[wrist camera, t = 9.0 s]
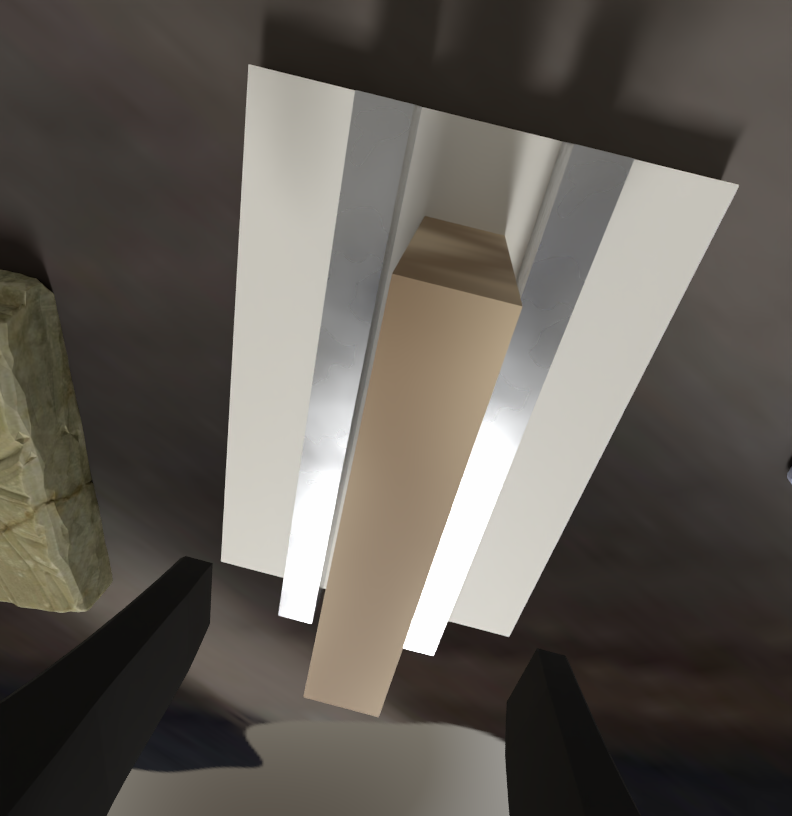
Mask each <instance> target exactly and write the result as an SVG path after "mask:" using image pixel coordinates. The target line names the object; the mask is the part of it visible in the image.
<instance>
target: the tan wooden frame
mask: <svg viewBox="0 0 792 816" xmlns="http://www.w3.org/2000/svg"><path fill="white" fill-rule="evenodd" d="M522 307H523V306H522V302H521V298H520V294H519V290H518V286H517V282H516V278H515V274H514V270H513V266H512V262H511V258H510V254H509V251H508V247H507V243H506V239H505V236H504V235H500V234H496V233H492V232H488V231H484V230H480V229H476V228H472V227H468V226H464V225H460V224H456V223H452V222H448V221H444V220H440V219H436V218H432V217H428V216H424V218H423V220H422V222H421V223H420V225H419V227H418V229H417V231H416V232H415V234H414V236H413V238H412V239H411V241H410V243H409V245H408V246H407V248H406V250H405V252H404V253H403V255H402V257H401V259H400V260H399V262H398V264H397V266H396V267H395V269H394V271H393V273H392V276H391V281H390V285H389V290H388V295H387V300H386V304H385V309H384V314H383V319H382V324H381V328H380V333H379V338H378V343H377V348H376V352H375V357H374V362H373V367H372V371H371V376H370V381H369V386H368V391H367V395H366V400H365V405H364V410H363V414H362V419H361V424H360V429H359V434H358V438H357V443H356V448H355V453H354V458H353V462H352V467H351V472H350V477H349V481H348V486H347V491H346V496H345V501H344V505H343V510H342V515H341V520H340V524H339V529H338V534H337V539H336V544H335V548H334V553H333V558H332V563H331V568H330V572H329V577H328V582H327V587H326V591H325V596H324V601H323V606H322V611H321V615H320V620H319V625H318V630H317V634H316V639H315V644H314V649H313V654H312V658H311V663H310V668H309V673H308V677H307V682H306V687H305V692H304V697H305V698H308V699H312V700H316V701H320V702H323V703H327V704H331V705H335V706H338V707H342V708H346V709H350V710H354V711H357V712H361V713H365V714H369V715H372V716H376V717H379V715H380V712H381V709H382V706H383V703H384V701H385V698H386V695H387V692H388V689H389V686H390V683H391V681H392V678H393V675H394V672H395V669H396V666H397V663H398V661H399V658H400V655H401V652H402V649H403V646H404V644H405V641H406V638H407V635H408V632H409V629H410V626H411V624H412V621H413V618H414V615H415V612H416V609H417V606H418V604H419V601H420V598H421V595H422V592H423V589H424V586H425V584H426V581H427V578H428V575H429V572H430V569H431V566H432V564H433V561H434V558H435V555H436V552H437V549H438V547H439V544H440V541H441V538H442V535H443V532H444V529H445V527H446V524H447V521H448V518H449V515H450V512H451V509H452V507H453V504H454V501H455V498H456V495H457V492H458V489H459V487H460V484H461V481H462V478H463V475H464V472H465V469H466V467H467V464H468V461H469V458H470V455H471V452H472V450H473V447H474V444H475V441H476V438H477V435H478V432H479V430H480V427H481V424H482V421H483V418H484V415H485V412H486V410H487V407H488V404H489V401H490V398H491V395H492V392H493V390H494V387H495V384H496V381H497V378H498V375H499V372H500V370H501V367H502V364H503V361H504V358H505V355H506V353H507V350H508V347H509V344H510V341H511V338H512V335H513V333H514V330H515V327H516V324H517V321H518V318H519V315H520V313H521V310H522Z"/></svg>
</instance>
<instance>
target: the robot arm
mask: <svg viewBox="0 0 792 816" xmlns="http://www.w3.org/2000/svg"><path fill="white" fill-rule="evenodd" d="M787 479H788V480H789V481H790V483H791V484H792V467H791V468H790V470H789V472H788V474H787ZM211 585H212V563H210V562H206V561H202V560H198V559H194V558H191V557H187V556H185V557H183V558H180V559H179V560H178V561H177V562H176V563H175V564H174V565H173V566H172V567H171V568H170V569H169V570H167V571H166V572H165V573H164V574H163V575H162V576H161V577H160V578H159V579H157V580H156V581H155V582H154V583H153V584H152V585H151V586H150V587H148V588H147V589H146V590H145V591H144V592H143V593H142V594H140V595H139V596H138V597H137V598H136V599H135V600H133V601H132V602H131V603H130V604H129V605H128V606H126V607H125V608H124V609H123V610H122V611H120V612H119V613H118V614H117V615H115V616H114V617H113V618H112V619H111V620H109V621H108V622H107V623H106V624H104V625H103V626H102V627H101V628H99V629H98V630H97V631H96V632H95V633H93V634H92V635H91V636H90V637H88V638H87V639H86V640H84V641H83V642H82V643H81V644H79V645H78V646H77V647H75V648H74V649H73V650H71V651H70V652H69V653H67V654H66V655H65V656H63V657H62V658H61V659H59V660H58V661H57V662H55V663H54V664H53V665H51V666H50V667H49V668H47V669H46V670H45V671H43V672H42V673H40V674H39V675H38V676H36V677H35V678H33V679H32V680H31V681H29V682H28V683H26V684H25V685H24V686H22V687H21V688H19V689H18V690H16V691H15V692H13V693H12V694H11V695H9V696H8V697H6V698H5V699H3V700H2V701H0V816H107V814H108V812H109V810H110V808H111V806H112V804H113V802H114V800H115V798H116V796H117V794H118V793H119V791H120V789H121V787H122V785H123V783H124V781H125V780H126V778H127V776H128V775H129V773H130V771H131V769H132V768H133V766H134V764H135V763H136V761H137V759H138V757H139V756H140V754H141V752H142V750H143V749H144V747H145V745H146V744H147V742H148V740H149V738H150V737H151V735H152V733H153V732H154V730H155V728H156V726H157V725H158V723H159V721H160V720H161V718H162V716H163V714H164V713H165V711H166V709H167V708H168V706H169V704H170V702H171V701H172V699H173V697H174V695H175V694H176V692H177V690H178V688H179V687H180V685H181V683H182V681H183V680H184V678H185V676H186V674H187V673H188V671H189V669H190V667H191V664H192V662H193V660H194V658H195V656H196V654H197V651H198V649H199V647H200V645H201V642H202V640H203V638H204V636H205V633H206V631H207V629H208V627H209V624H210V608H211ZM505 759H506V774H507V788H508V802H509V815H510V816H641V814H640V813H639V811H638V809H637V807H636V805H635V803H634V801H633V799H632V797H631V795H630V793H629V791H628V789H627V788H626V786H625V783H624V781H623V779H622V777H621V775H620V773H619V771H618V769H617V767H616V765H615V763H614V761H613V759H612V757H611V755H610V753H609V751H608V749H607V747H606V745H605V742H604V740H603V738H602V736H601V734H600V732H599V730H598V727H597V725H596V723H595V721H594V719H593V716H592V714H591V712H590V710H589V708H588V705H587V703H586V701H585V699H584V696H583V694H582V692H581V689H580V687H579V685H578V683H577V680H576V678H575V676H574V673H573V671H572V669H571V666H570V664H569V662H568V660H567V658H566V656H564V655H561V654H557V653H553V652H549V651H545V650H541V649H538V648H537V650H536V651H535V653H534V655H533V657H532V658H531V660H530V662H529V664H528V666H527V667H526V669H525V671H524V673H523V674H522V676H521V678H520V680H519V681H518V683H517V685H516V687H515V689H514V690H513V692H512V694H511V696H510V697H509V699H508V701H507V711H506V741H505Z"/></svg>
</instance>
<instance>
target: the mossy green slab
mask: <svg viewBox="0 0 792 816" xmlns="http://www.w3.org/2000/svg"><path fill="white" fill-rule="evenodd" d="M91 479H92V478H91V474H90V469H89V463H88V457H87V452H86V446H85V440H84V433H83V428H82V423H81V418H80V414H79V410H78V405H77V402H76V397H75V392H74V388H73V383H72V379H71V374H70V370H69V365H68V358H67V353H66V349H65V344H64V339H63V335H62V330H61V325H60V321H59V317H58V312H57V307H56V302H55V298H54V294H53V293H52V292H51V291H50V290H49V289H48V288H46V287H45V286H44V285H43V284H42V283H41V282H40V281H39V280H38V279H36V278H30V277H27V276H25V275H23V274H20V273H14V272H10V271H6V270H0V601H4V602H11V603H14V604H15V605H17V606H19V607H25V608H34V609H41V610H46V611H55V612H60V613H64V612H69V611H74V612H83V611H87V610H89V609H90V608H91V607H92V606H93V605H94V603H95V602H96V601H97V600H98V599H99V598H100V597H101V595H102V594H103V593H104V592H105V591H106V589H107V588H108V587H109V586H110V584H111V583H112V581H113V580H112V573H111V567H110V563H109V557H108V552H107V548H106V545H105V540H104V535H103V529H102V522H101V517H100V512H99V508H98V503H97V499H96V495H95V490H94V485H93V483H92V482H91Z"/></svg>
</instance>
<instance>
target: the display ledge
mask: <svg viewBox="0 0 792 816" xmlns="http://www.w3.org/2000/svg"><path fill="white" fill-rule="evenodd" d="M738 187H739V185H737V184H733V183H729V182H725V181H721V180H717V179H713V178H709V177H705V176H700V175H696V174H692V173H688V172H684V171H680V170H676V169H672V168H668V167H664V166H660V165H656V164H652V163H648V162H644V161H640V160H635V159H634V158H630V157H626V156H622V155H618V154H614V153H609V152H605V151H601V150H597V149H593V148H589V147H585V146H581V145H577V144H573V143H567V142H562V141H558V140H554V139H550V138H546V137H542V136H538V135H534V134H530V133H526V132H522V131H518V130H514V129H510V128H506V127H501V126H497V125H493V124H489V123H485V122H481V121H477V120H473V119H469V118H465V117H461V116H457V115H453V114H449V113H445V112H441V111H436V110H432V109H428V108H424V107H421V106H418V105H415V104H410V103H406V102H402V101H398V100H394V99H390V98H386V97H382V96H378V95H374V94H370V93H366V92H362V91H358V90H351V89H347V88H343V87H339V86H335V85H331V84H327V83H323V82H319V81H315V80H311V79H307V78H302V77H298V76H294V75H290V74H286V73H282V72H278V71H274V70H270V69H266V68H262V67H258V66H254V65H250V64H249V66H248V84H247V102H246V120H245V138H244V156H243V174H242V192H241V211H240V229H239V247H238V265H237V283H236V301H235V319H234V337H233V355H232V373H231V391H230V409H229V427H228V445H227V464H226V482H225V500H224V518H223V536H222V554H221V562H225V563H229V564H233V565H237V566H241V567H244V568H248V569H252V570H256V571H260V572H263V573H267V574H271V575H275V576H279V577H283V578H284V580H283V587H282V594H281V601H280V608H279V614H278V615H279V616H283V617H287V618H291V619H295V620H298V621H302V622H306V623H310V624H312V621H313V618H314V615H315V612H316V609H317V606H318V603H319V600H320V597H321V594H322V591H323V588H325V589H326V587H327V582H328V577H329V572H330V568H331V563H332V558H333V553H334V548H335V544H336V539H337V534H338V529H339V524H340V520H341V515H342V510H343V505H344V501H345V496H346V491H347V486H348V481H349V477H350V472H351V467H352V462H353V458H354V453H355V448H356V443H357V438H358V434H359V429H360V424H361V419H362V414H363V410H364V405H365V400H366V395H367V391H368V386H369V381H370V376H371V371H372V367H373V362H374V357H375V352H376V348H377V343H378V338H379V333H380V328H381V324H382V319H383V314H384V309H385V304H386V300H387V295H388V290H389V285H390V281H391V276H392V273H393V271H394V269H395V267H396V266H397V264H398V262H399V260H400V259H401V257H402V255H403V253H404V252H405V250H406V248H407V246H408V245H409V243H410V241H411V239H412V238H413V236H414V234H415V232H416V231H417V229H418V227H419V225H420V223H421V222H422V220H423V218H424V216H428V217H432V218H436V219H440V220H444V221H448V222H452V223H456V224H460V225H464V226H468V227H472V228H476V229H480V230H484V231H488V232H492V233H496V234H500V235H504V236H505V239H506V243H507V247H508V251H509V254H510V258H511V262H512V266H513V270H514V274H515V278H516V282H517V286H518V290H519V294H520V298H521V302H522V306H523V307H522V310H521V313H520V315H519V318H518V321H517V324H516V327H515V330H514V333H513V335H512V338H511V341H510V344H509V347H508V350H507V353H506V355H505V358H504V361H503V364H502V367H501V370H500V372H499V375H498V378H497V381H496V384H495V387H494V390H493V392H492V395H491V398H490V401H489V404H488V407H487V410H486V412H485V415H484V418H483V421H482V424H481V427H480V430H479V432H478V435H477V438H476V441H475V444H474V447H473V450H472V452H471V455H470V458H469V461H468V464H467V467H466V469H465V472H464V475H463V478H462V481H461V484H460V487H459V489H458V492H457V495H456V498H455V501H454V504H453V507H452V509H451V512H450V515H449V518H448V521H447V524H446V527H445V529H444V532H443V535H442V538H441V541H440V544H439V547H438V549H437V552H436V555H435V558H434V561H433V564H432V566H431V569H430V572H429V575H428V578H427V581H426V584H425V586H424V589H423V592H422V595H421V598H420V601H419V604H418V606H417V609H416V612H415V615H414V618H413V621H412V624H411V626H410V629H409V632H408V635H407V638H406V641H405V644H404V646H403V648H405V649H408V650H412V651H416V652H420V653H424V654H427V655H431V656H434V653H435V651H436V648H437V646H438V644H439V641H440V639H441V636H442V634H443V631H444V629H445V626H446V624H447V621H450V622H454V623H458V624H462V625H466V626H470V627H473V628H477V629H481V630H485V631H489V632H492V633H496V634H500V635H504V636H508V637H509V636H510V634H511V632H512V630H513V628H514V626H515V624H516V622H517V620H518V618H519V616H520V614H521V612H522V610H523V608H524V606H525V605H526V603H527V601H528V599H529V597H530V595H531V593H532V591H533V589H534V587H535V585H536V583H537V581H538V579H539V577H540V575H541V573H542V571H543V569H544V567H545V565H546V563H547V561H548V559H549V557H550V556H551V554H552V552H553V550H554V548H555V546H556V544H557V542H558V540H559V538H560V536H561V534H562V532H563V530H564V528H565V526H566V524H567V522H568V520H569V518H570V516H571V514H572V512H573V510H574V508H575V506H576V505H577V503H578V501H579V499H580V497H581V495H582V493H583V491H584V489H585V487H586V485H587V483H588V481H589V479H590V477H591V475H592V473H593V471H594V469H595V467H596V465H597V463H598V461H599V459H600V457H601V456H602V454H603V452H604V450H605V448H606V446H607V444H608V442H609V440H610V438H611V436H612V434H613V432H614V430H615V428H616V426H617V424H618V422H619V420H620V418H621V416H622V414H623V412H624V410H625V408H626V407H627V405H628V403H629V401H630V399H631V397H632V395H633V393H634V391H635V389H636V387H637V385H638V383H639V381H640V379H641V377H642V375H643V373H644V371H645V369H646V367H647V365H648V363H649V361H650V359H651V357H652V356H653V354H654V352H655V350H656V348H657V346H658V344H659V342H660V340H661V338H662V336H663V334H664V332H665V330H666V328H667V326H668V324H669V322H670V320H671V318H672V316H673V314H674V312H675V310H676V308H677V307H678V305H679V303H680V301H681V299H682V297H683V295H684V293H685V291H686V289H687V287H688V285H689V283H690V281H691V279H692V277H693V275H694V273H695V271H696V269H697V267H698V265H699V263H700V261H701V259H702V258H703V256H704V254H705V252H706V250H707V248H708V246H709V244H710V242H711V240H712V238H713V236H714V234H715V232H716V230H717V228H718V226H719V224H720V222H721V220H722V218H723V216H724V214H725V212H726V210H727V209H728V207H729V205H730V203H731V201H732V199H733V197H734V195H735V193H736V191H737V189H738Z"/></svg>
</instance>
